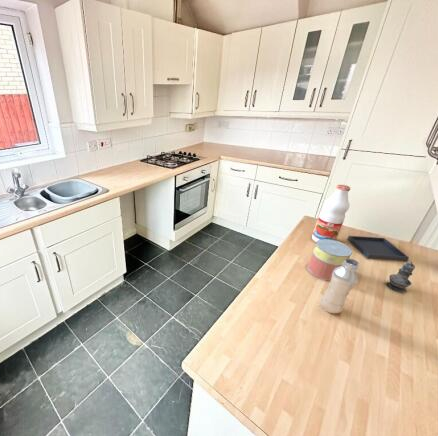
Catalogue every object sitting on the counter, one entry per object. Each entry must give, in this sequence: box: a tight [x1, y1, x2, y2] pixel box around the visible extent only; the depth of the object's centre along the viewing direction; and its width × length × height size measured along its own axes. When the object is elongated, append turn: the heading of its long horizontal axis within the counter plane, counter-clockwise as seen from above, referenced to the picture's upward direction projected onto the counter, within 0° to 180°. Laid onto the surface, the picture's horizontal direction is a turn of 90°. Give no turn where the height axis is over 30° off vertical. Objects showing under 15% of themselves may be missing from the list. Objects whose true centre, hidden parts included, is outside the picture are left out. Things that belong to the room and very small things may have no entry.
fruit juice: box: [311, 184, 351, 243], centre depth 111 cm, size 9×9×28 cm
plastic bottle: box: [319, 258, 360, 315], centre depth 77 cm, size 6×7×20 cm
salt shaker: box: [386, 261, 416, 293], centre depth 87 cm, size 6×6×12 cm
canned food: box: [307, 239, 353, 281], centre depth 96 cm, size 11×11×12 cm
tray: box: [347, 235, 410, 262], centre depth 110 cm, size 15×15×2 cm
